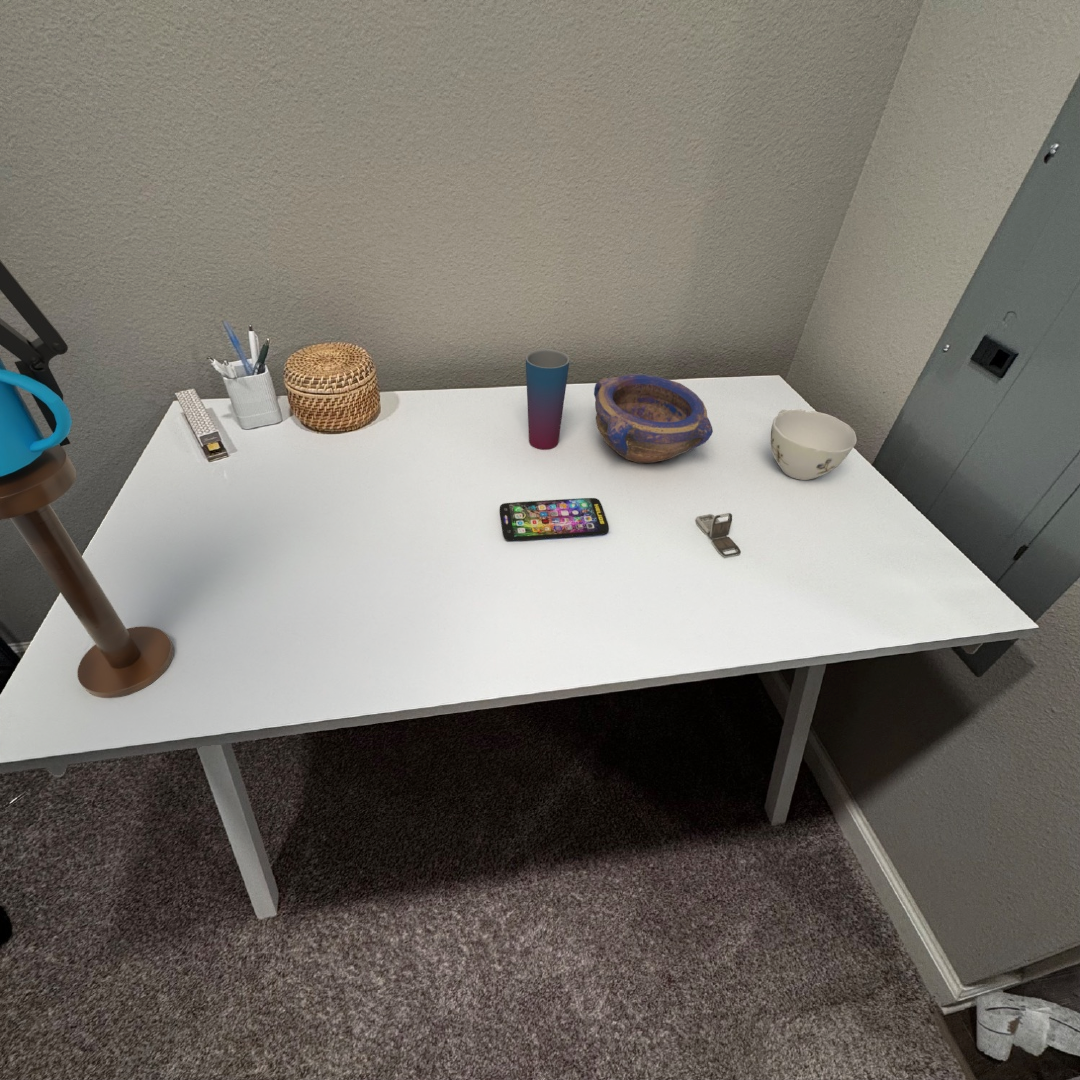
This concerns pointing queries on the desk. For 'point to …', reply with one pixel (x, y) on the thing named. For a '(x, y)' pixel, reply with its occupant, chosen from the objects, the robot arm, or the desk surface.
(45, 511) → the stand
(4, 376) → the mug
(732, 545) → the strap clip
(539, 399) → the cup
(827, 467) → the teacup
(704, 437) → the bowl
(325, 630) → the desk surface
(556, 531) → the smartphone
